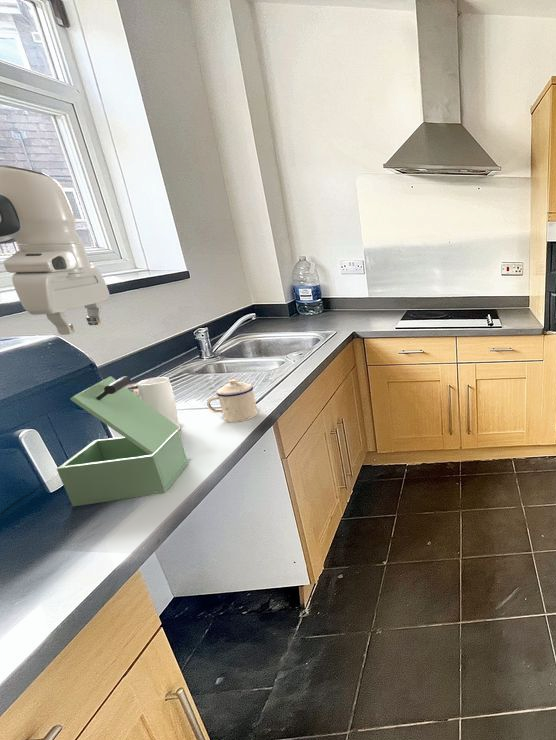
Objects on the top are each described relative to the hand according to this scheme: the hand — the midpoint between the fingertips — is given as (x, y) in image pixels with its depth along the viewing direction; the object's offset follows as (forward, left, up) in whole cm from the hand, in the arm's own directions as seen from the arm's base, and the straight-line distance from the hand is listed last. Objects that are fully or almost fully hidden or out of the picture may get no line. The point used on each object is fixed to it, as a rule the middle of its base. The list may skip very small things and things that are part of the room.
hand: (82, 329), depth 86 cm
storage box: (+4, -8, -33) cm, 34 cm away
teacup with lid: (+15, +25, -33) cm, 44 cm away
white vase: (0, +20, -33) cm, 39 cm away
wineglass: (-7, +27, -33) cm, 44 cm away
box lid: (+7, -8, -17) cm, 20 cm away
